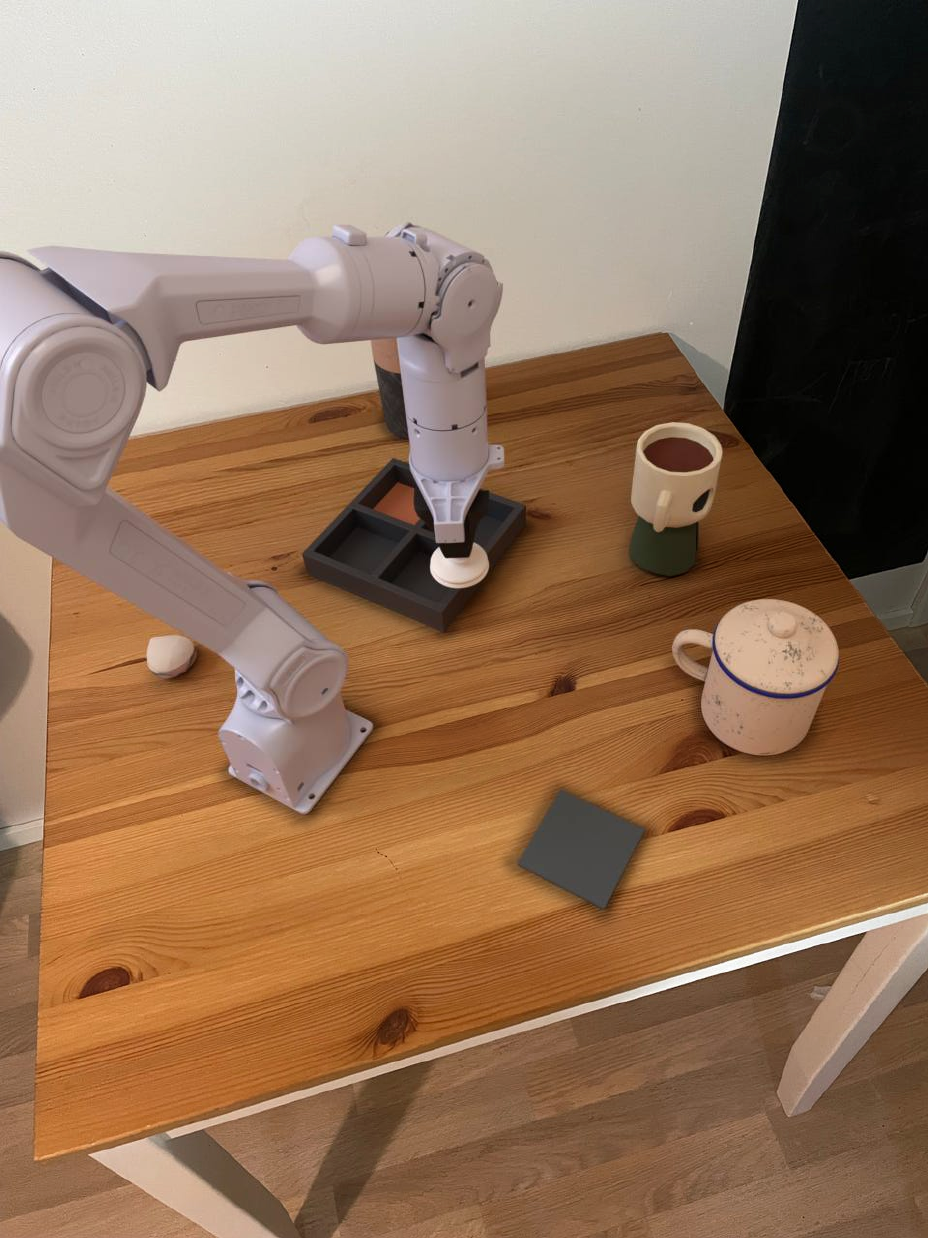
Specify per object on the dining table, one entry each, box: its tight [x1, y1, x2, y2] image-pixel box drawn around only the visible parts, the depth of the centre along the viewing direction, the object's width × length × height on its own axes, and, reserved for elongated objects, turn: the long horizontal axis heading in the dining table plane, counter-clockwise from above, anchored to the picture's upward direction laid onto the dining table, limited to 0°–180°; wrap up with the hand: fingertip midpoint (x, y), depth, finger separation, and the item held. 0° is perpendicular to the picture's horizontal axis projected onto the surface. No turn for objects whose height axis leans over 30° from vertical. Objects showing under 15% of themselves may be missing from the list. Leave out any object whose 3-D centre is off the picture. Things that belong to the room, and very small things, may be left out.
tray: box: [301, 457, 527, 633], centre depth 88 cm, size 15×15×3 cm
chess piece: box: [430, 543, 489, 588], centre depth 73 cm, size 5×5×10 cm
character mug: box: [628, 421, 723, 577], centre depth 82 cm, size 11×7×13 cm, turn 158°
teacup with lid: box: [671, 598, 840, 756], centre depth 71 cm, size 12×9×12 cm
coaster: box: [516, 789, 646, 911], centre depth 68 cm, size 7×7×1 cm
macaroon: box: [146, 634, 198, 679], centre depth 81 cm, size 4×5×2 cm
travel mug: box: [370, 230, 409, 440], centre depth 95 cm, size 8×8×20 cm
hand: (457, 543), depth 75 cm, fingers closed on chess piece
